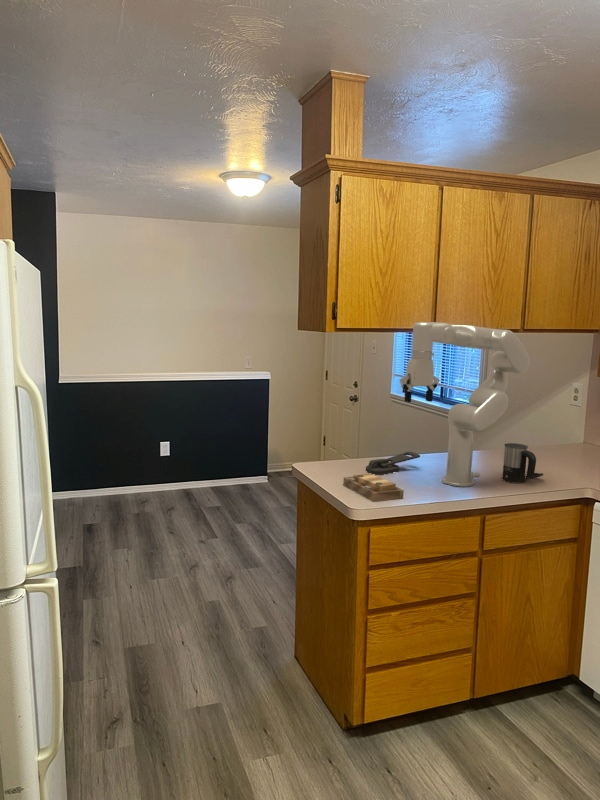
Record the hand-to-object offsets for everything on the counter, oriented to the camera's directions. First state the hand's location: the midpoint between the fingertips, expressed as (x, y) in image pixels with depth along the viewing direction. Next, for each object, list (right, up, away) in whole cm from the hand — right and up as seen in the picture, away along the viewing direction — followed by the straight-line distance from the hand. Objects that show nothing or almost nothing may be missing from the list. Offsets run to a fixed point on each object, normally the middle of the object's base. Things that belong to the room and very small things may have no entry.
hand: (418, 401), depth 226 cm
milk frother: (+47, -33, +22) cm, 62 cm away
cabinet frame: (-18, -33, -3) cm, 38 cm away
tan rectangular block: (-17, -33, -4) cm, 37 cm away
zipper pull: (-5, -30, +30) cm, 42 cm away
